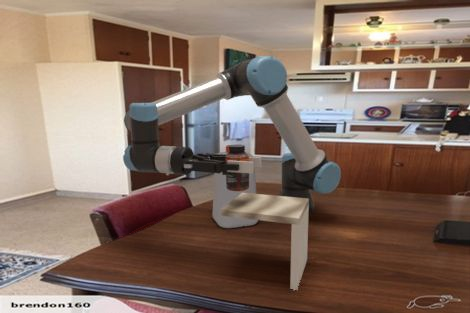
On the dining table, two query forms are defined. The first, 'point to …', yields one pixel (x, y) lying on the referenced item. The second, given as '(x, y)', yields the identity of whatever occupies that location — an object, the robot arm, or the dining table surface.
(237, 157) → the supplement bottle
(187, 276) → the dining table surface
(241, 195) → the cream l-shaped stand
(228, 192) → the plastic bottle
